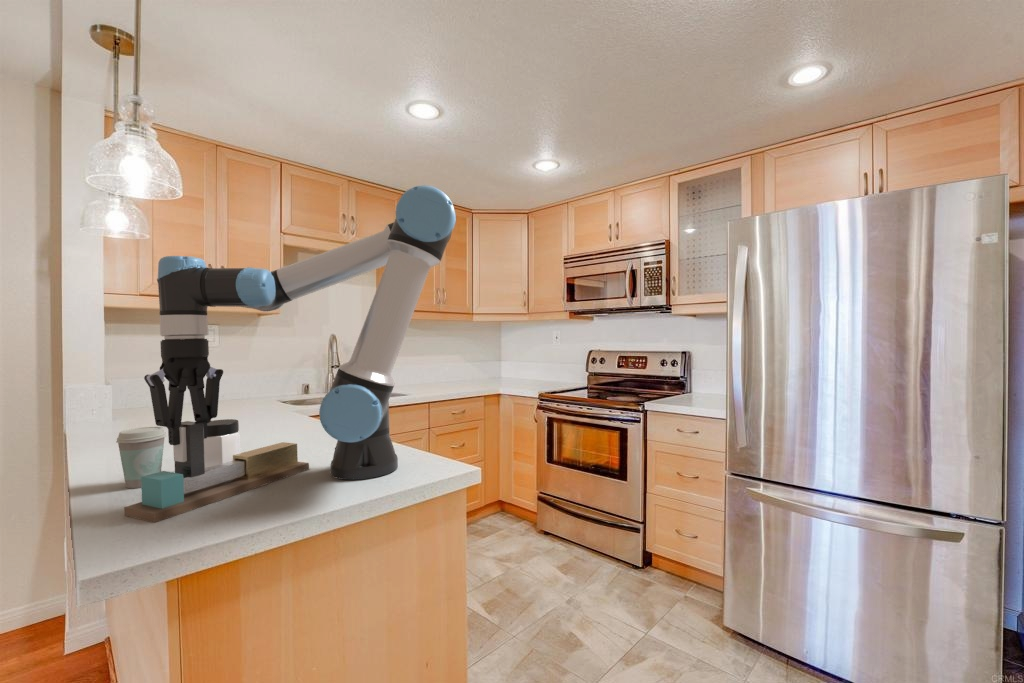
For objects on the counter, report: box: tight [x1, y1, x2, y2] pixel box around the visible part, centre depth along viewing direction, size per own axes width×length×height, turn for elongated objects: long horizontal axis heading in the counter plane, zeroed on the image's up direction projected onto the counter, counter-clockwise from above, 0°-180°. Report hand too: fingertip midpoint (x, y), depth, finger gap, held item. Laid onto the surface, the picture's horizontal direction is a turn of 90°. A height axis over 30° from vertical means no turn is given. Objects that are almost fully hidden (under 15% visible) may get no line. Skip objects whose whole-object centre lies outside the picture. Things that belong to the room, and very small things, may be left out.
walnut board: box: [123, 461, 310, 523], centre depth 95 cm, size 33×9×2 cm, turn 157°
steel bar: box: [174, 420, 246, 494], centre depth 91 cm, size 20×5×13 cm, turn 157°
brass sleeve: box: [233, 441, 299, 480], centre depth 103 cm, size 13×5×5 cm, turn 157°
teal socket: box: [141, 470, 184, 509], centre depth 83 cm, size 4×6×5 cm, turn 67°
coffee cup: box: [115, 426, 167, 489], centre depth 100 cm, size 8×8×12 cm
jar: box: [204, 418, 241, 468], centre depth 107 cm, size 9×8×12 cm
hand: (189, 458), depth 88 cm, fingers closed on steel bar, 3 cm apart
